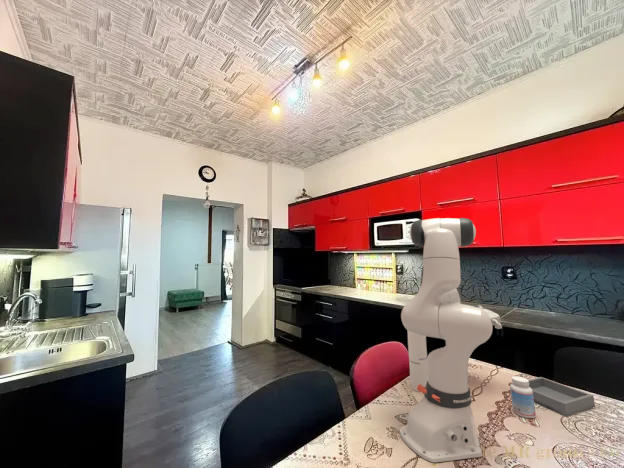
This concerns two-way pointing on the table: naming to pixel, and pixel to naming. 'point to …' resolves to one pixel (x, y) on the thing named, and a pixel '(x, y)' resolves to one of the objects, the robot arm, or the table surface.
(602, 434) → the table surface
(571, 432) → the table surface
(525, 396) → the pill bottle
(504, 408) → the table surface
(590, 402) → the tray
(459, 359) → the robot arm
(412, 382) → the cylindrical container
